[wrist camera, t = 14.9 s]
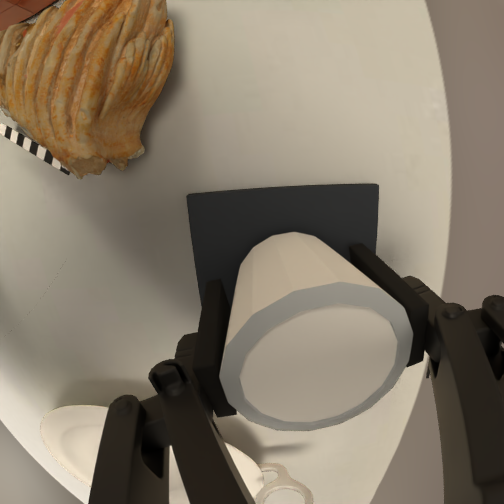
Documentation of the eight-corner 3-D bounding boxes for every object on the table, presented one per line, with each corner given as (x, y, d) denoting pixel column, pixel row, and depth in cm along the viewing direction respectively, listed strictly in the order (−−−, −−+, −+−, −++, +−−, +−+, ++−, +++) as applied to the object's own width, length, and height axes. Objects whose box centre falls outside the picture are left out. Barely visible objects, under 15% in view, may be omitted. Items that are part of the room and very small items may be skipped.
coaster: (210, 353, 19) (210, 357, 18) (187, 193, 15) (186, 195, 15) (362, 336, 19) (365, 340, 18) (375, 183, 15) (379, 184, 15)
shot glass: (359, 221, 15) (437, 279, 8) (341, 333, 17) (384, 421, 11) (223, 218, 14) (214, 284, 8) (225, 337, 17) (223, 437, 10)
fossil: (190, 159, 14) (188, -7, 10) (140, 192, 9) (139, -52, 5) (26, 175, 16) (19, 50, 11) (-36, 206, 10) (-47, 52, 6)
